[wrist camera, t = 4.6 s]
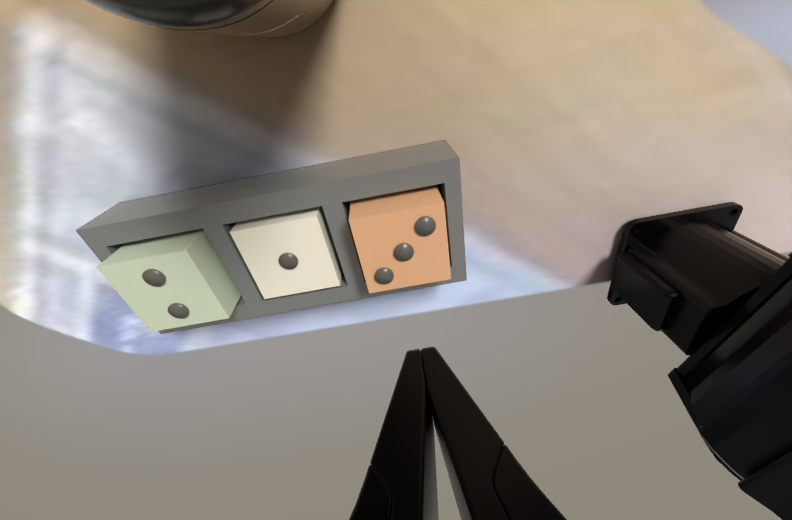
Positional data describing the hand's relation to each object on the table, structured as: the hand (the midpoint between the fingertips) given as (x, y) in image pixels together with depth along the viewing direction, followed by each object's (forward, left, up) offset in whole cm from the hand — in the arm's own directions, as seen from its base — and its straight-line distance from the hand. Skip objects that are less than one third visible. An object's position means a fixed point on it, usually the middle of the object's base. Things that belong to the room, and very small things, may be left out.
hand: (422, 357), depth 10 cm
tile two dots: (+11, 0, -8) cm, 14 cm away
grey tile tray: (+6, 0, -10) cm, 12 cm away
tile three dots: (0, 0, -8) cm, 8 cm away
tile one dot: (+6, 0, -9) cm, 11 cm away
